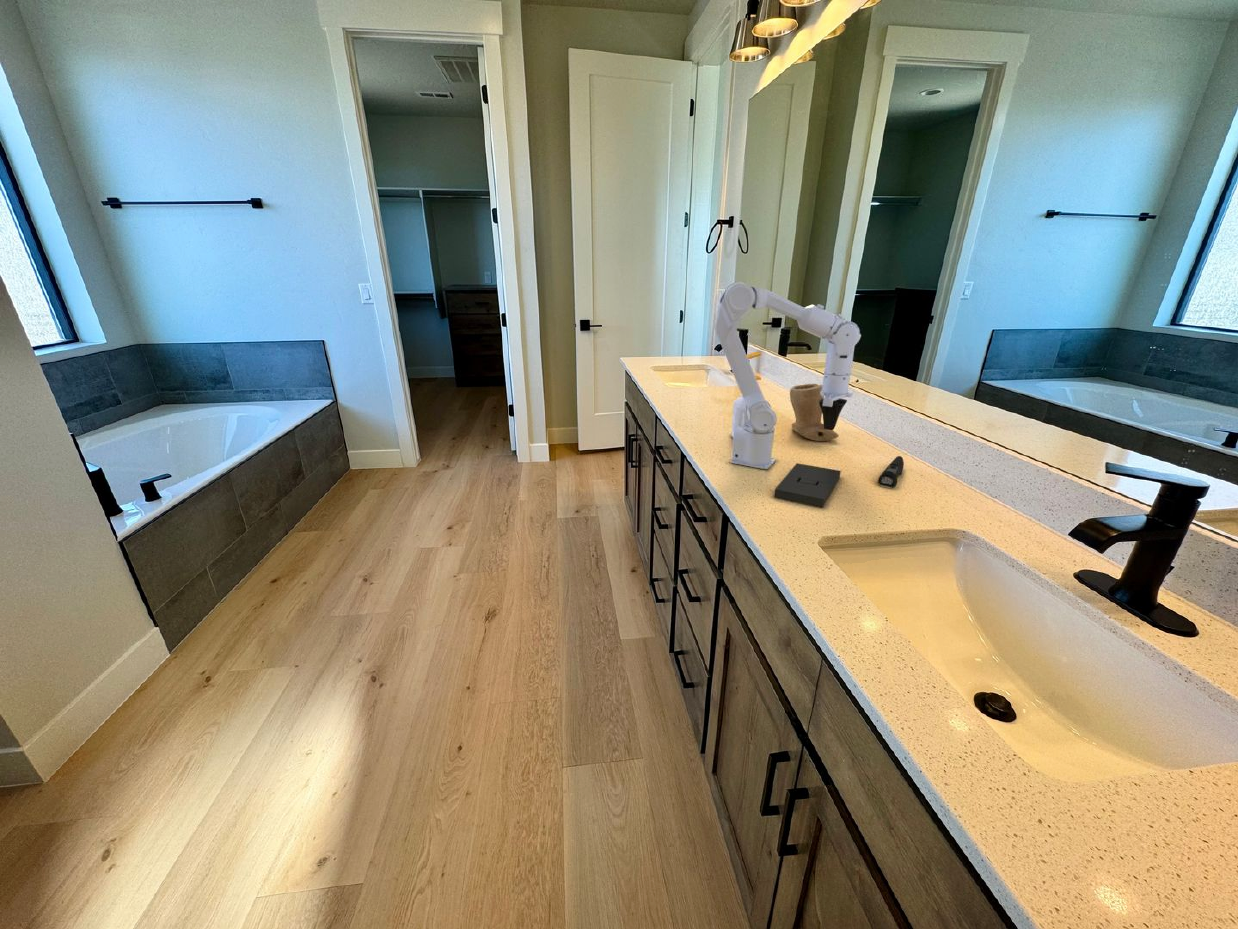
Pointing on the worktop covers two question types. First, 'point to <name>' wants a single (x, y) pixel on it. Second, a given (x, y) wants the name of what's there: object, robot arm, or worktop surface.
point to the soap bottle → (741, 405)
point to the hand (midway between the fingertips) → (829, 428)
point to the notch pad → (803, 492)
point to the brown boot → (809, 412)
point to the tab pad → (815, 474)
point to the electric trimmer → (891, 473)
